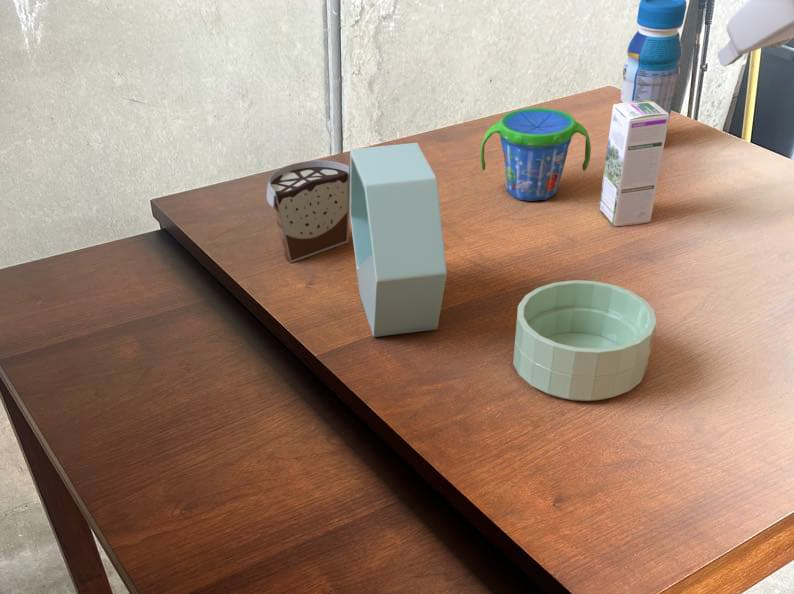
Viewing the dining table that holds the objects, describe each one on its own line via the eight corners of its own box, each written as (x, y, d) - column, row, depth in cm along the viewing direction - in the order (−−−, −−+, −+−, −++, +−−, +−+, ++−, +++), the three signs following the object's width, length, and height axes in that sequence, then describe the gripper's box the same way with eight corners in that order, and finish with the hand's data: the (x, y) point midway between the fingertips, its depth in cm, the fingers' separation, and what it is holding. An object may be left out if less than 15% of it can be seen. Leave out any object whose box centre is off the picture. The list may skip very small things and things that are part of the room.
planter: (365, 340, 109) (342, 166, 105) (425, 332, 110) (405, 160, 106) (382, 334, 93) (357, 128, 88) (453, 325, 94) (431, 121, 89)
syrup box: (651, 222, 120) (673, 112, 110) (611, 228, 119) (629, 117, 109) (634, 205, 124) (654, 97, 114) (596, 210, 123) (612, 102, 113)
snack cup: (474, 204, 126) (477, 131, 118) (483, 174, 133) (487, 104, 126) (583, 211, 123) (593, 137, 116) (586, 181, 130) (596, 109, 123)
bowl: (640, 334, 100) (650, 283, 96) (649, 408, 90) (661, 355, 86) (515, 328, 102) (519, 277, 97) (510, 400, 92) (515, 347, 87)
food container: (332, 223, 122) (327, 151, 115) (357, 239, 119) (353, 165, 112) (257, 249, 117) (246, 175, 110) (280, 266, 114) (271, 191, 107)
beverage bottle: (645, 155, 136) (671, 11, 122) (602, 141, 141) (622, 0, 127) (676, 140, 140) (705, -1, 126) (633, 127, 145) (656, -11, 131)
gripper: (901, -82, 90) (789, 7, 103) (789, -50, 81) (681, 42, 94) (925, -24, 91) (811, 57, 103) (816, 13, 82) (705, 97, 95)
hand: (748, 50), depth 99 cm, fingers open, 8 cm apart
